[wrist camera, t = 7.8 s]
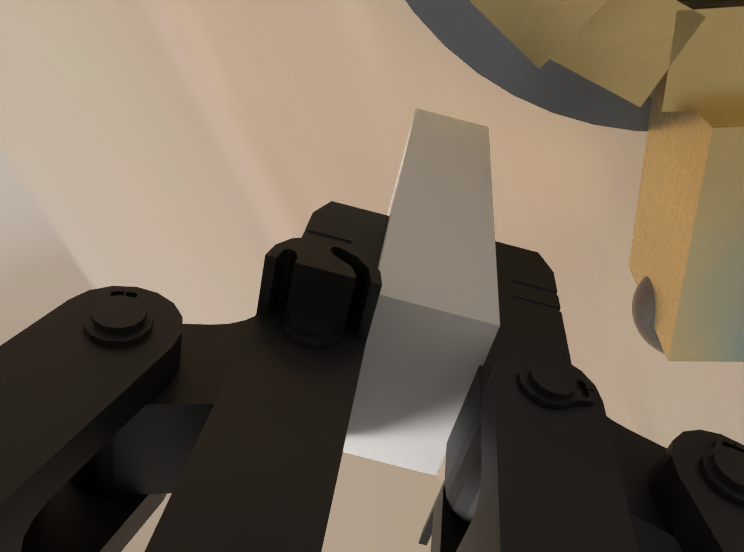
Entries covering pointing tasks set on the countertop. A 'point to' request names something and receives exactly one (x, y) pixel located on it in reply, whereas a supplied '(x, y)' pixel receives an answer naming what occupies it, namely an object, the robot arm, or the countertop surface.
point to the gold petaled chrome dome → (666, 149)
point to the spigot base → (525, 68)
